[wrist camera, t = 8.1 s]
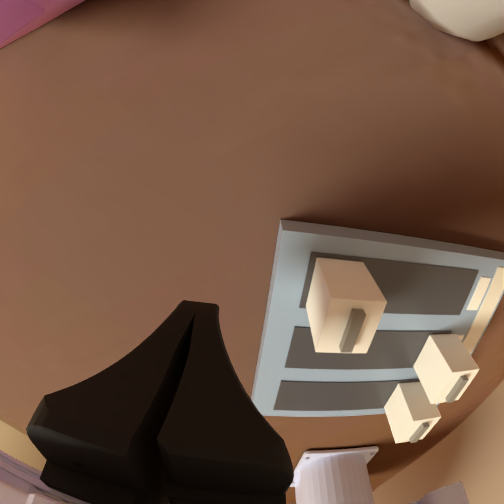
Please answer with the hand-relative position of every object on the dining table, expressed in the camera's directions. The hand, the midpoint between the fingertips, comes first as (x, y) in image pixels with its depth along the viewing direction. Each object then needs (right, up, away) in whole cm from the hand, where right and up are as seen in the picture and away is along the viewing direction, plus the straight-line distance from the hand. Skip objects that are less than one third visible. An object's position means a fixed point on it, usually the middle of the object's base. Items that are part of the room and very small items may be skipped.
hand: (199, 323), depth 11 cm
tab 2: (+13, -8, +8) cm, 17 cm away
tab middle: (+14, -4, +6) cm, 16 cm away
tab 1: (+6, +1, +4) cm, 7 cm away
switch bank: (+11, -3, +7) cm, 13 cm away
